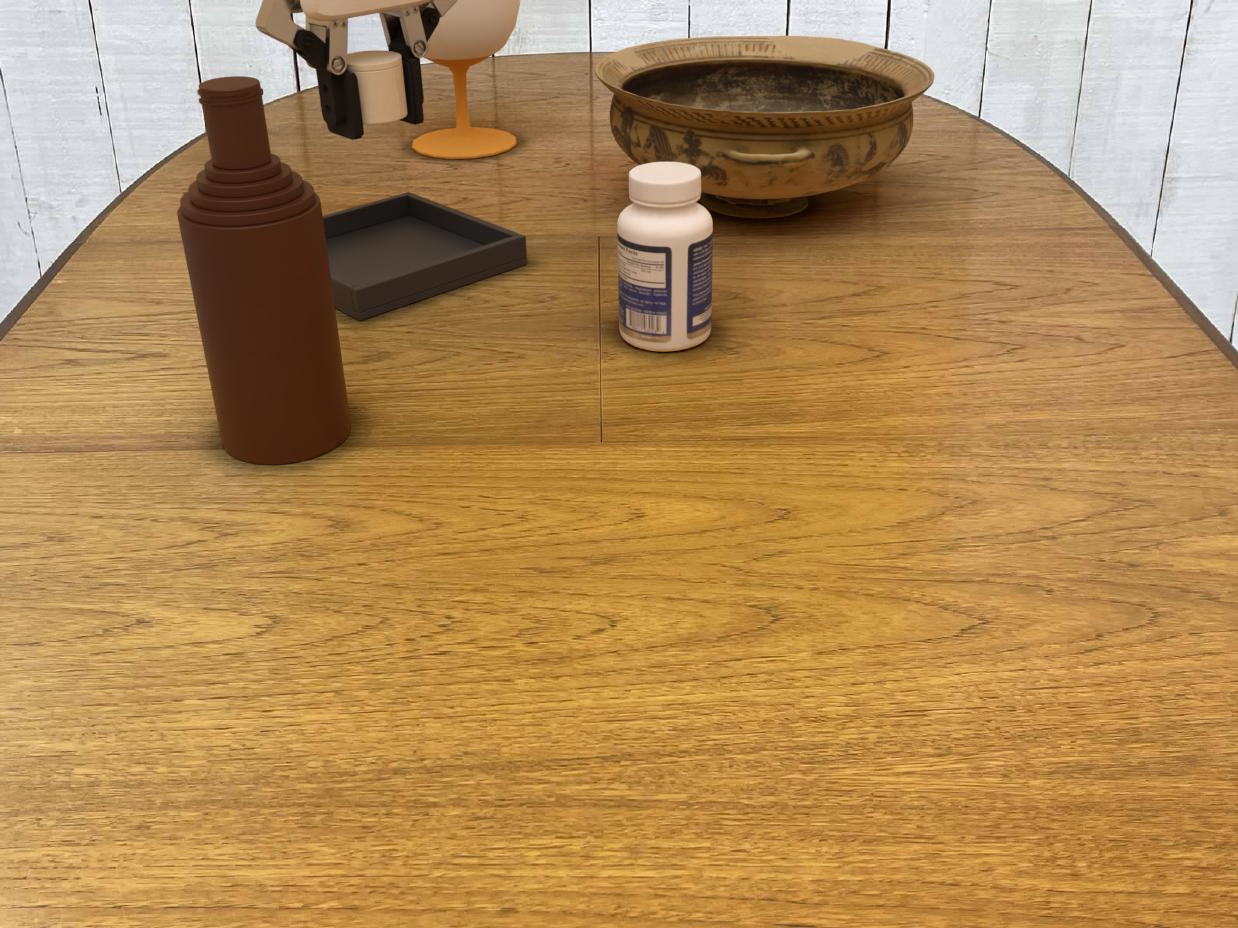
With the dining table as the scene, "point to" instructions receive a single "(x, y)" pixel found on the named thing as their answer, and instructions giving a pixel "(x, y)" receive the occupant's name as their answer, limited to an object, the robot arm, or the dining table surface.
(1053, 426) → the dining table surface
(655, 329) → the pill bottle
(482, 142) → the cup
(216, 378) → the sauce bottle
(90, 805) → the dining table surface
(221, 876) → the dining table surface
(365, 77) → the cap
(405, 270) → the tray
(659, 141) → the ceramic bowl
